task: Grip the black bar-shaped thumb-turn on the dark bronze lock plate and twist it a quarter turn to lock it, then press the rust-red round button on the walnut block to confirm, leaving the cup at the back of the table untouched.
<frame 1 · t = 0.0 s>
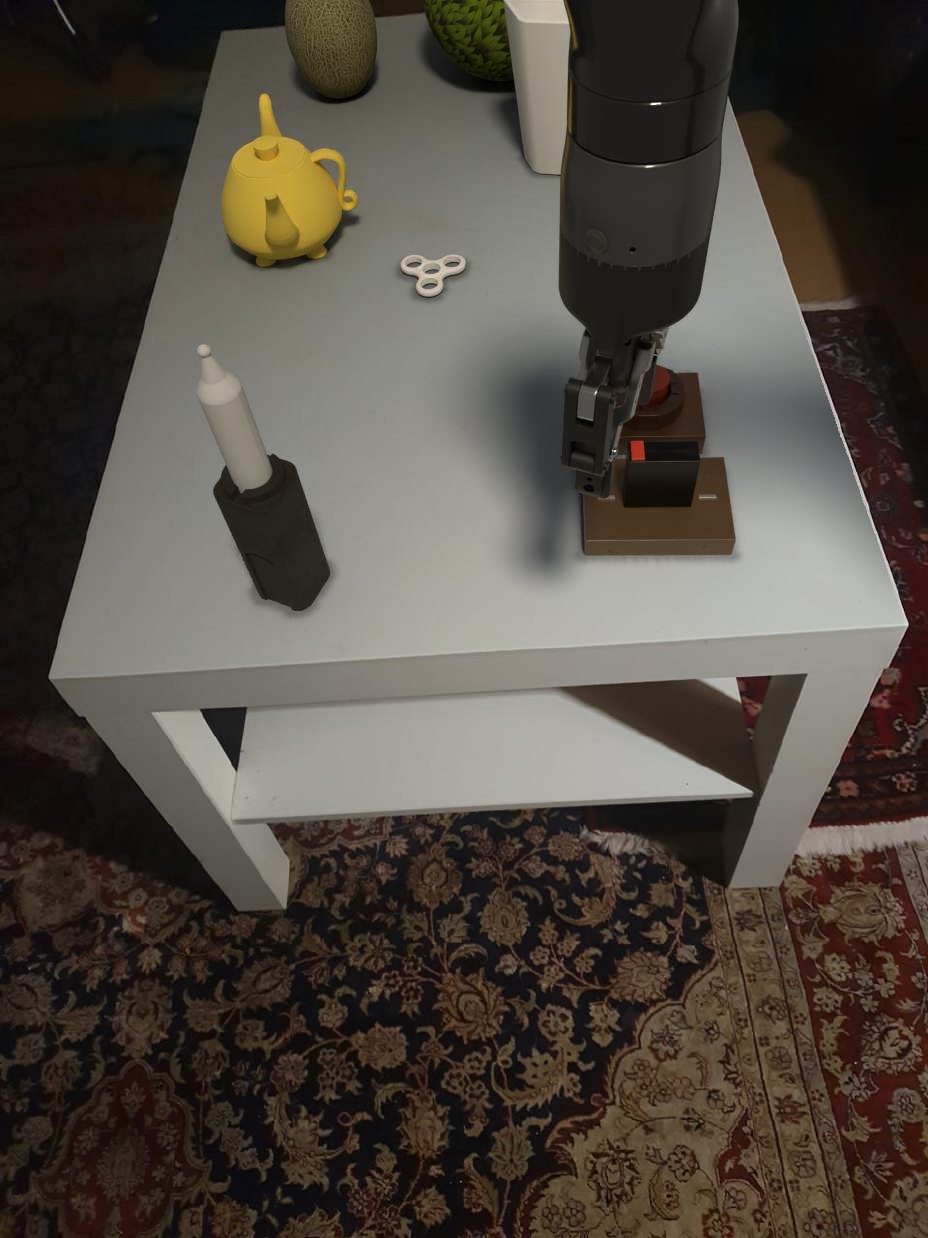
hand: (614, 443, 59), 18 cm above the table, tool pointing down, fingers open, 8 cm apart
teapot: (298, 241, 103), on the table
thumbturn: (660, 474, 74), point 5 cm above the table, hinge at 0.0°
confirm block: (642, 421, 84), on the table
lock plate: (654, 513, 78), on the table
fruit: (342, 92, 120), on the table
button: (647, 384, 80), point 4 cm above the table, slide at 0.1 cm
decorative ball: (505, 73, 120), on the table
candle: (294, 583, 77), on the table
cup: (555, 159, 108), on the table
fidget spinner: (431, 279, 98), on the table
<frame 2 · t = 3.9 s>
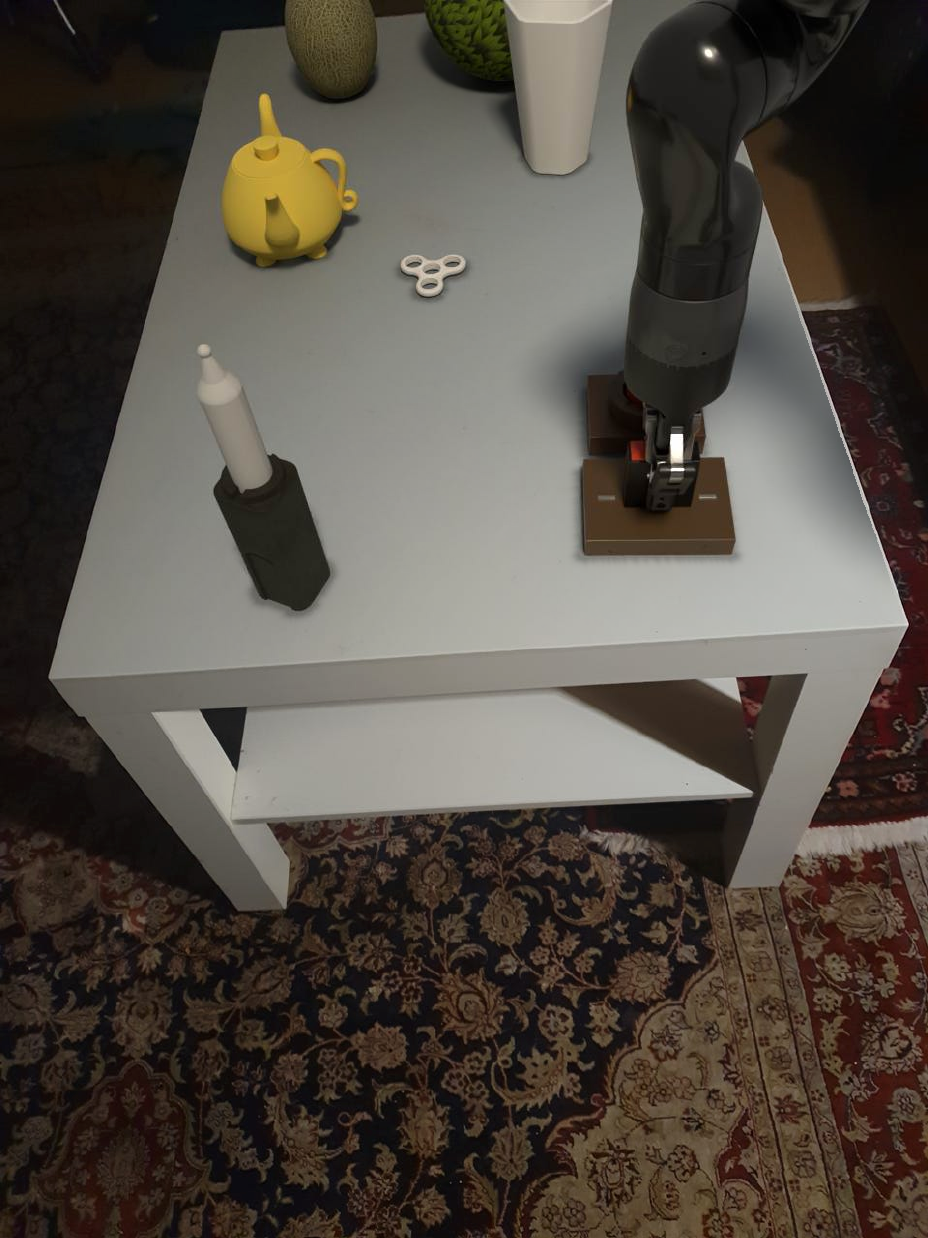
hand: (657, 492, 76), 3 cm above the table, tool pointing down, fingers closed on thumbturn, 2 cm apart
thumbturn: (660, 474, 74), point 5 cm above the table, hinge at -0.1°, touching gripper
everything else where it was.
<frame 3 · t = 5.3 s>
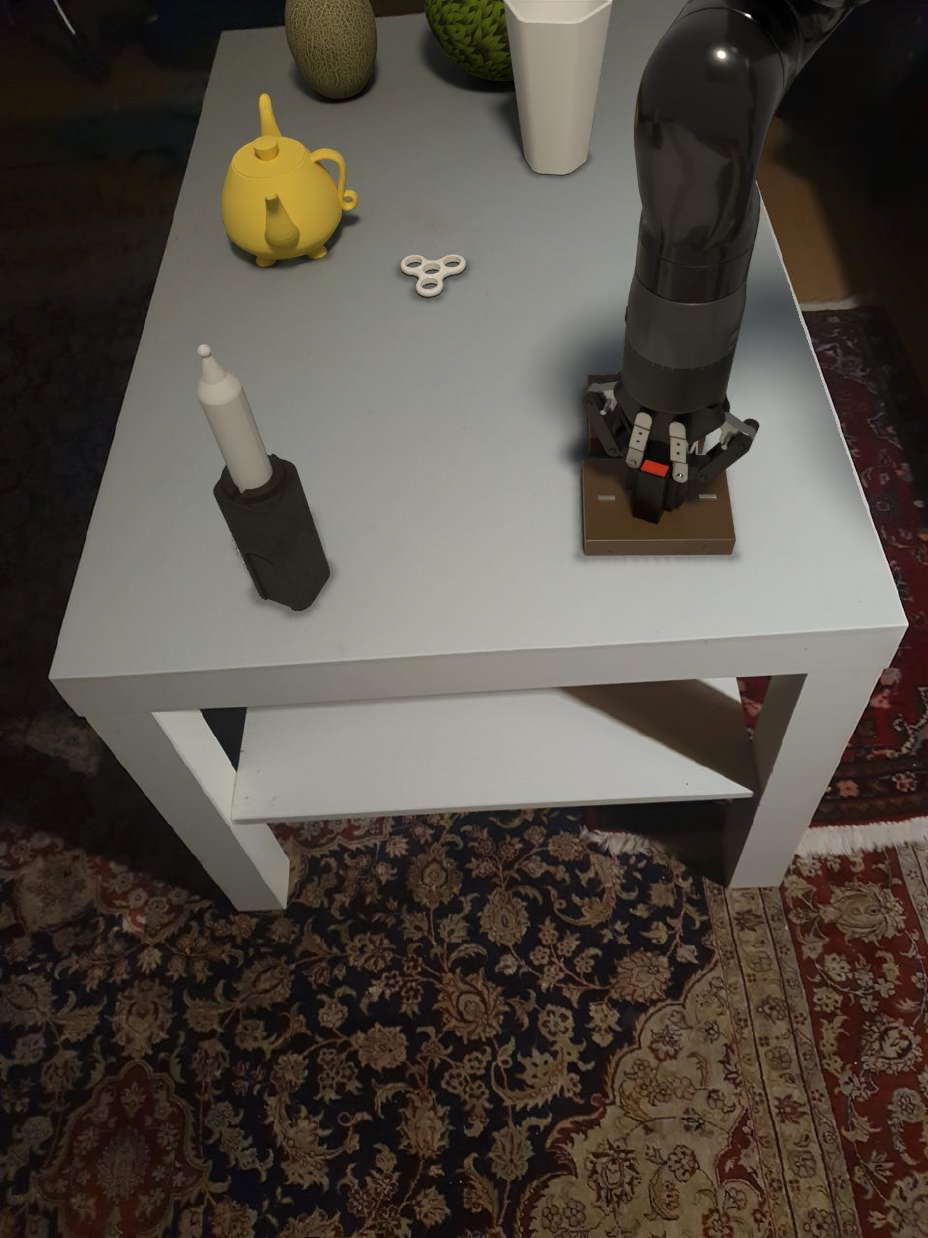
hand: (655, 495, 76), 3 cm above the table, tool pointing down, fingers closed on thumbturn, 2 cm apart
thumbturn: (660, 474, 74), point 5 cm above the table, hinge at 66.5°, touching gripper
everything else where it was.
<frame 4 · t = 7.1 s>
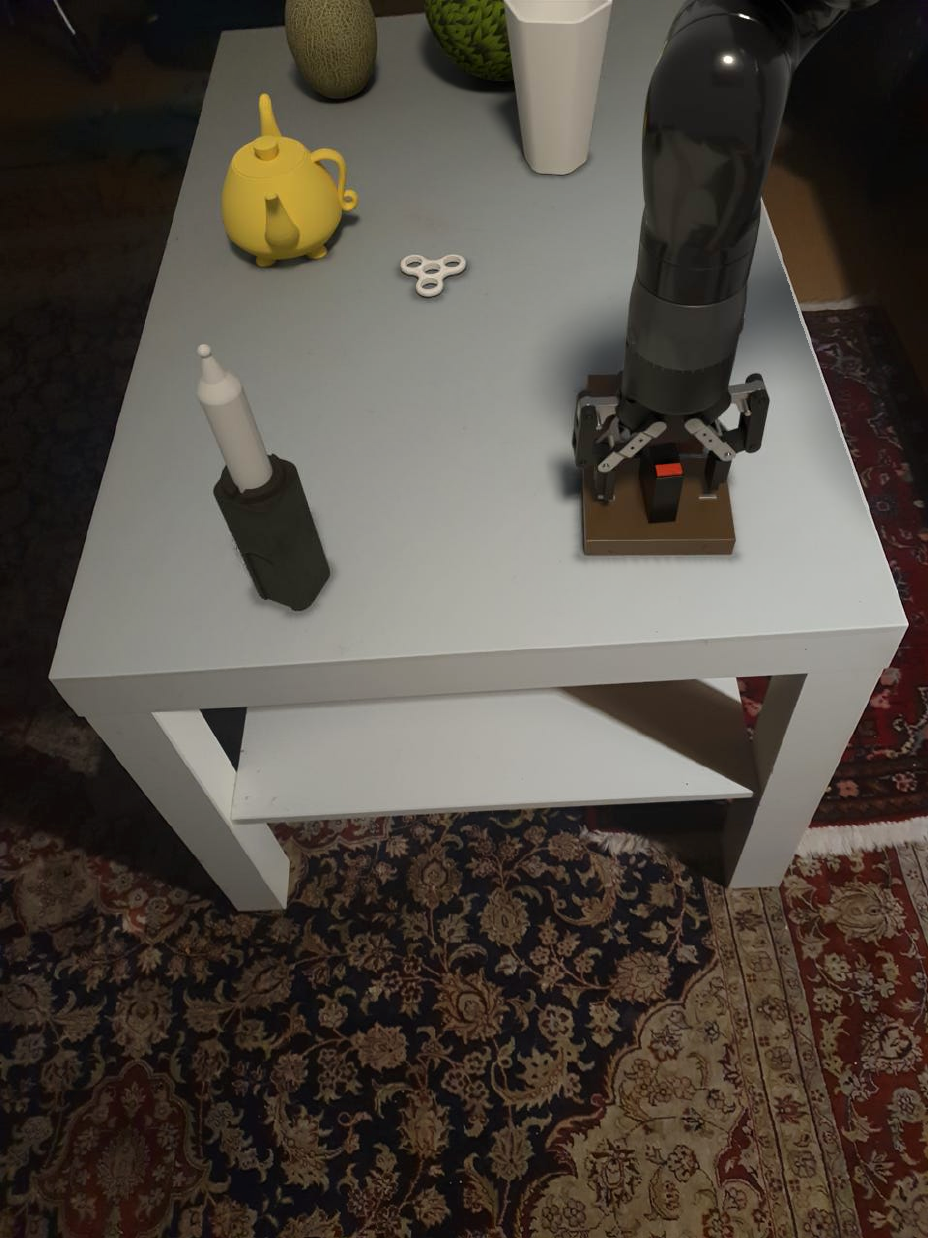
hand: (658, 487, 76), 3 cm above the table, tool pointing down, fingers open, 8 cm apart
thumbturn: (660, 474, 74), point 5 cm above the table, hinge at 95.8°
everything else where it was.
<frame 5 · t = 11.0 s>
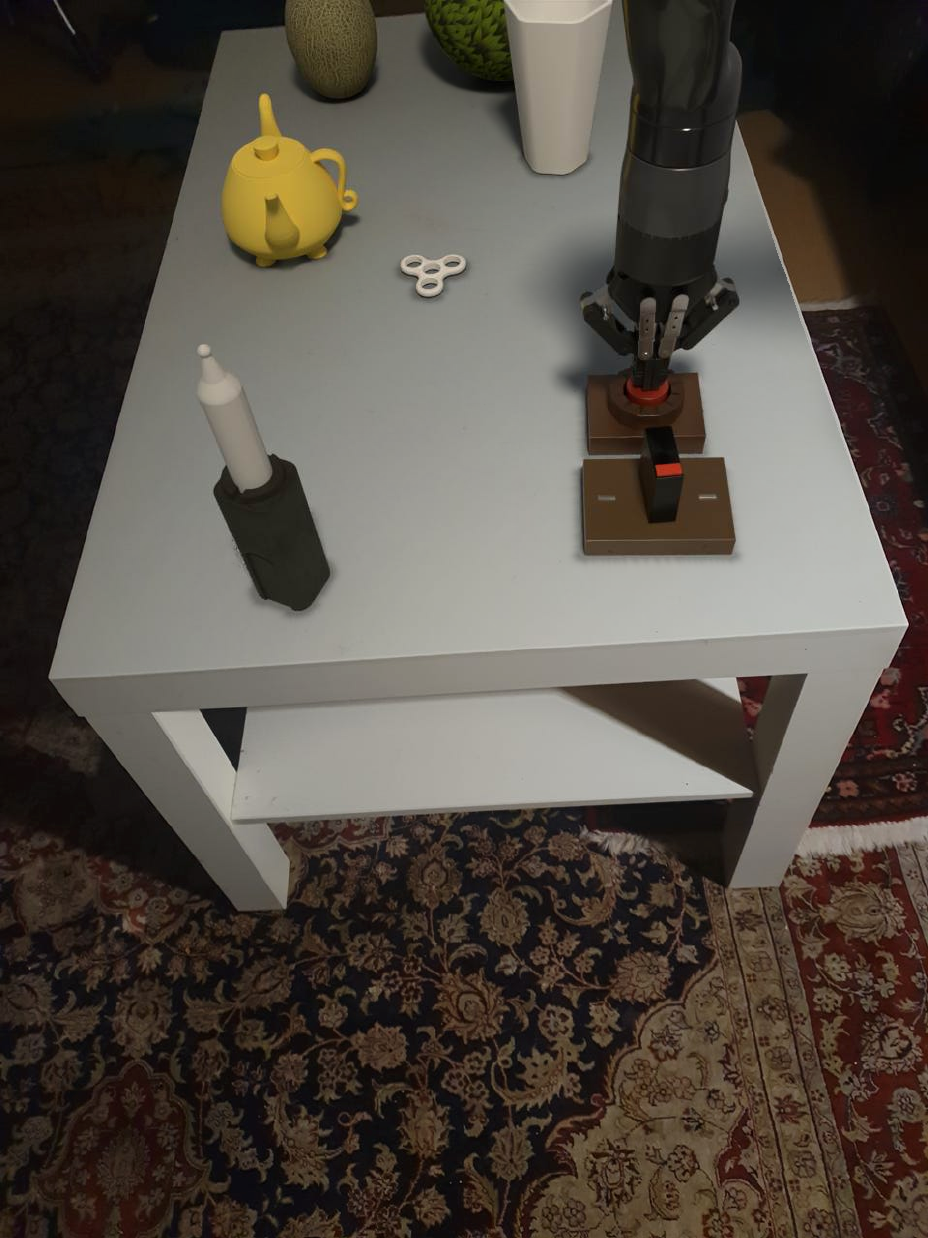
hand: (648, 383, 80), 5 cm above the table, tool pointing down, fingers closed
button: (646, 391, 81), point 4 cm above the table, slide at -0.7 cm, touching gripper
everything else where it was.
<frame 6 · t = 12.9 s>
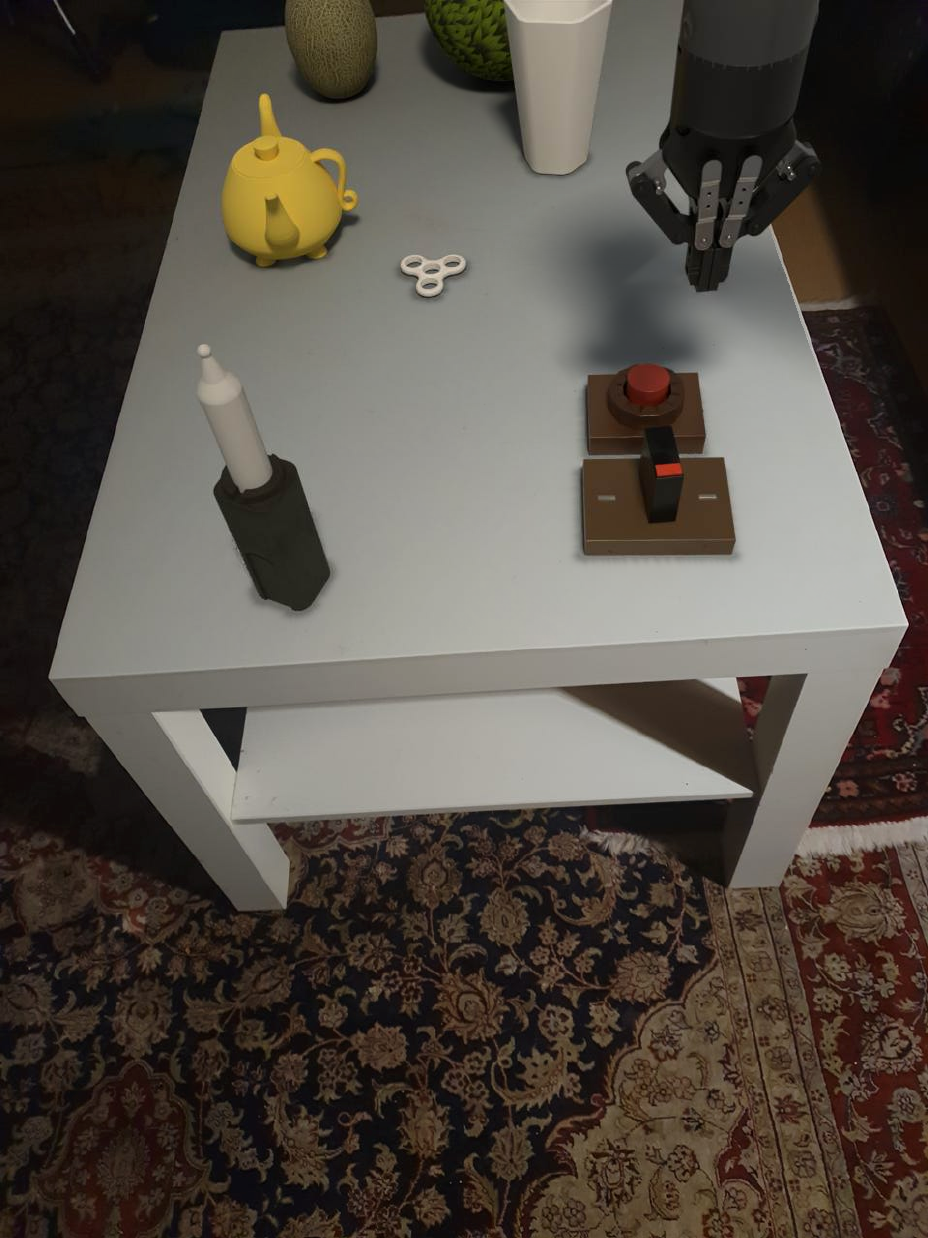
hand: (703, 284, 67), 17 cm above the table, tool pointing down, fingers closed
button: (647, 384, 80), point 5 cm above the table, slide at 0.1 cm
everything else where it was.
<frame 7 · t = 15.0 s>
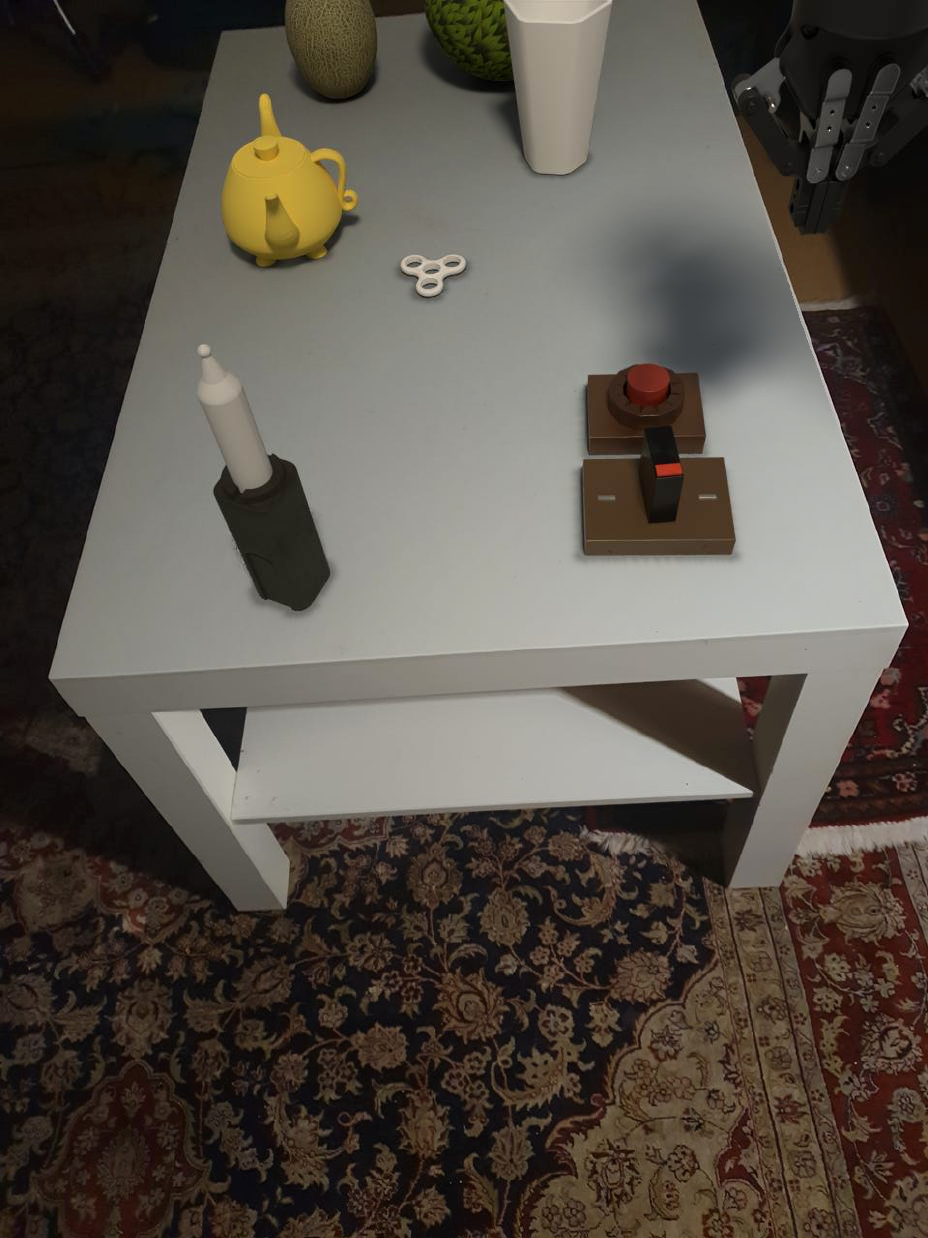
hand: (808, 226, 58), 25 cm above the table, tool pointing down, fingers closed
nothing on the table moved.
at the end: thumbturn at +96° (first picture: +0°); button pushed in 1.1 cm at the most during the clip, back to where it started at the end; cup moved 0.2 cm from its start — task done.
